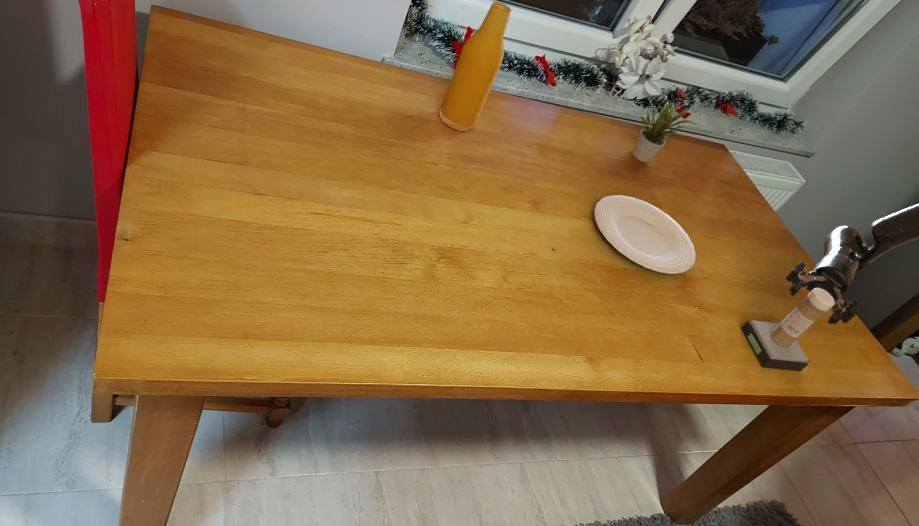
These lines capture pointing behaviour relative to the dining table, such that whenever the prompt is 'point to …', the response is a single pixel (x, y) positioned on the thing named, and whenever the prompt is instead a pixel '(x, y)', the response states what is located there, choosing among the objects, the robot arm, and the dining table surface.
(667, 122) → the house plant
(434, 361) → the dining table surface
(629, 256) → the plate
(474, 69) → the beer bottle
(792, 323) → the sprinkles bottle
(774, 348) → the scale
